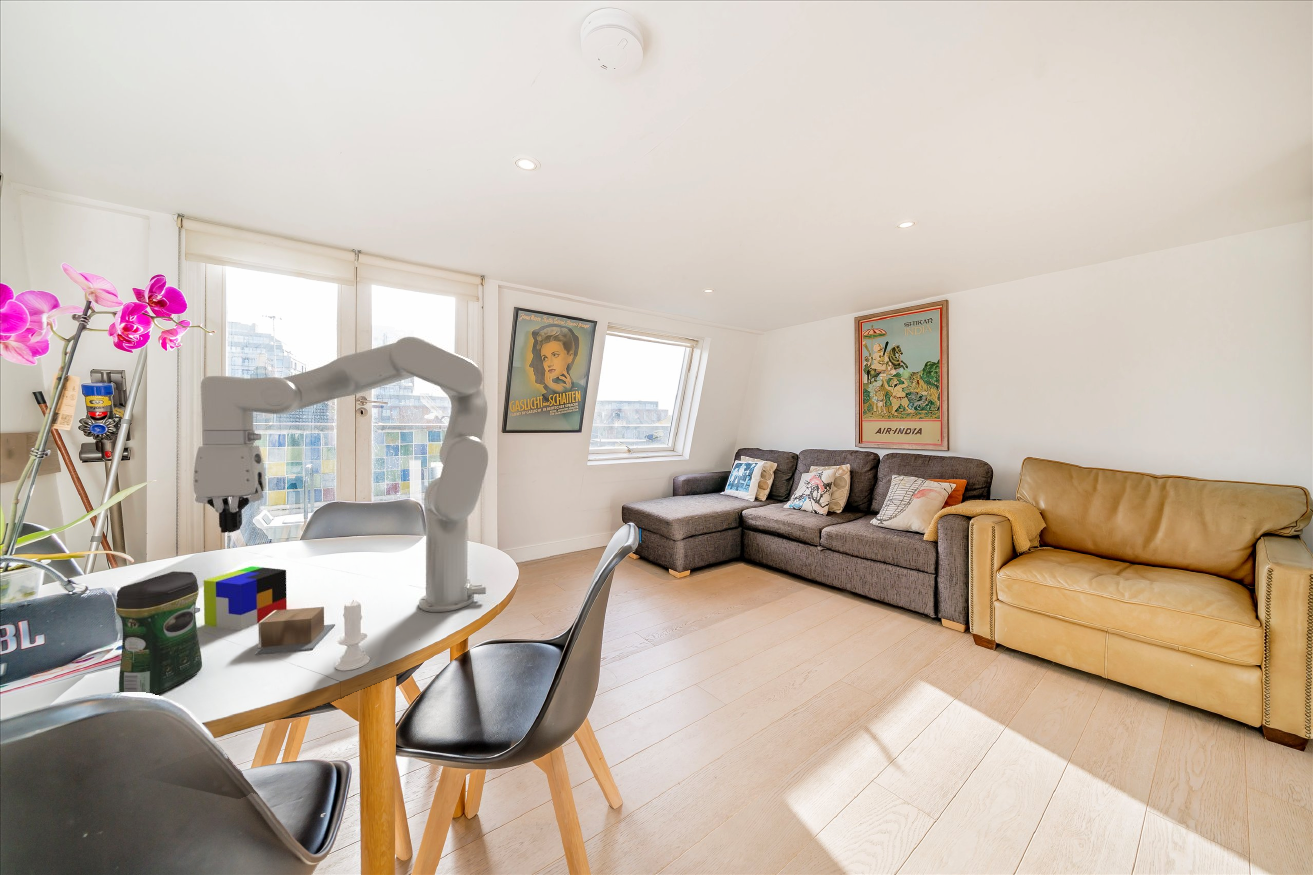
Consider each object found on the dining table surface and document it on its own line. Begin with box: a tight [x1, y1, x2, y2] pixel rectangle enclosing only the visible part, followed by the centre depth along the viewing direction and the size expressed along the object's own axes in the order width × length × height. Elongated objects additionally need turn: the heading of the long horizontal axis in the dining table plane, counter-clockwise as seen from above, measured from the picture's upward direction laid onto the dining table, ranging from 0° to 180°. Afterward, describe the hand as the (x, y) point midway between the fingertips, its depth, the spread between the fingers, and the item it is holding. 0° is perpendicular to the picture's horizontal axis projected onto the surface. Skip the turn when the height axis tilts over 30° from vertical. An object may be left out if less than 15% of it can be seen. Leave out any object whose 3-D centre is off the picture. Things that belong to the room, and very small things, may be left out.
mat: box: [255, 623, 336, 656], centre depth 97 cm, size 10×11×1 cm
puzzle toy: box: [203, 566, 288, 631], centre depth 106 cm, size 10×10×10 cm
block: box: [257, 606, 325, 648], centre depth 96 cm, size 5×6×9 cm
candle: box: [335, 599, 370, 672], centre depth 88 cm, size 5×5×12 cm
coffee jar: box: [115, 570, 203, 695], centre depth 80 cm, size 10×8×19 cm
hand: (230, 530), depth 93 cm, fingers closed
